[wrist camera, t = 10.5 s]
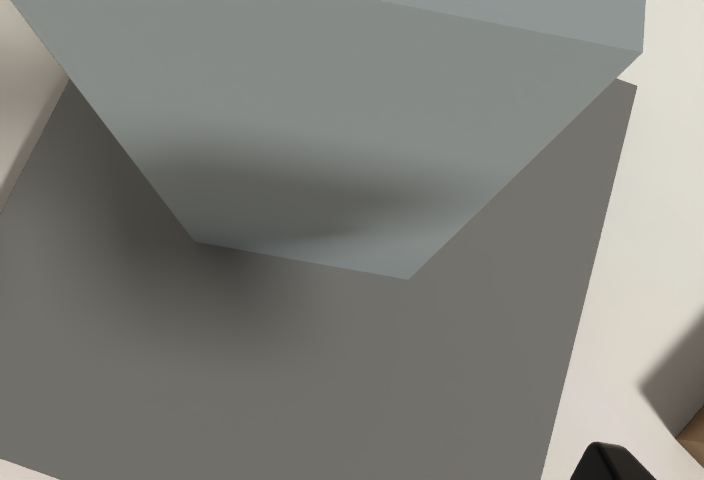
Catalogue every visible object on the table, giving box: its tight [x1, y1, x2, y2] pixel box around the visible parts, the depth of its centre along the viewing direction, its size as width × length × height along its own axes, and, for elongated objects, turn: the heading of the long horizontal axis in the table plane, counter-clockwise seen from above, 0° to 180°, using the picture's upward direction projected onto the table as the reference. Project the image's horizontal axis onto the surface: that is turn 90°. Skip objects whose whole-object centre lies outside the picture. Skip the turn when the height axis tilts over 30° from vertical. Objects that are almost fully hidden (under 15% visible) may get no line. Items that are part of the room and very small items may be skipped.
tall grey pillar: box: [11, 0, 646, 280], centre depth 11 cm, size 2×6×12 cm, turn 80°
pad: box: [0, 79, 637, 480], centre depth 17 cm, size 16×16×1 cm
